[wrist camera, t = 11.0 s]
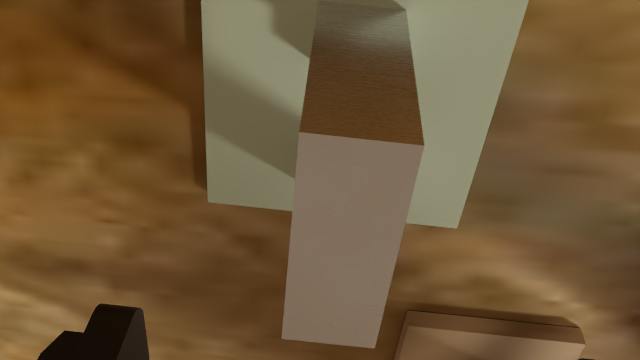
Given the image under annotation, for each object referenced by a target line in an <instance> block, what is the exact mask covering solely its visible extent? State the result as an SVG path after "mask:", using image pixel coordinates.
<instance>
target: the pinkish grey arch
mask: <svg viewBox="0 0 640 360" xmlns="http://www.w3.org/2000/svg"><path fill="white" fill-rule="evenodd" d="M423 150H424V139H423V131H422V124H421V116H420V109H419V101H418V94H417V86H416V79H415V71H414V64H413V57H412V49H411V42H410V34H409V27H408V19H407V12H406V10H401V9H392V8H383V7H374V6H365V5H356V4H347V3H338V2H329V1H320V0H319V2H318V8H317V15H316V22H315V29H314V35H313V42H312V49H311V56H310V62H309V69H308V76H307V83H306V89H305V96H304V103H303V110H302V116H301V123H300V130H299V140H298V151H297V163H296V175H295V187H294V198H293V210H292V222H291V233H290V245H289V257H288V268H287V280H286V292H285V303H284V315H283V327H282V338H281V339H287V340H297V341H306V342H316V343H326V344H335V345H345V346H354V347H364V348H374V349H375V346H376V342H377V337H378V333H379V329H380V325H381V321H382V317H383V313H384V309H385V305H386V301H387V297H388V293H389V288H390V284H391V280H392V276H393V272H394V268H395V264H396V260H397V256H398V252H399V248H400V244H401V239H402V235H403V231H404V227H405V223H406V219H407V215H408V211H409V207H410V203H411V199H412V195H413V190H414V186H415V182H416V178H417V174H418V170H419V166H420V162H421V158H422V154H423Z"/></svg>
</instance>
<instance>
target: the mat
mask: <svg viewBox="0 0 640 360" xmlns="http://www.w3.org/2000/svg"><path fill="white" fill-rule="evenodd" d="M320 1H329V2H338V3H347V4H356V5H365V6H374V7H383V8H392V9H401V10H406V12H407V19H408V27H409V34H410V42H411V49H412V57H413V64H414V71H415V79H416V86H417V94H418V101H419V109H420V116H421V124H422V131H423V139H424V150H423V154H422V158H421V162H420V166H419V170H418V174H417V178H416V182H415V186H414V190H413V195H412V199H411V203H410V207H409V211H408V215H407V219H406V223H410V224H420V225H429V226H439V227H448V228H457V227H458V223H459V220H460V217H461V214H462V211H463V208H464V204H465V201H466V198H467V195H468V192H469V189H470V185H471V182H472V179H473V176H474V173H475V170H476V166H477V163H478V160H479V157H480V154H481V151H482V147H483V144H484V141H485V138H486V135H487V131H488V128H489V125H490V122H491V119H492V116H493V112H494V109H495V106H496V103H497V100H498V97H499V93H500V90H501V87H502V84H503V81H504V78H505V74H506V71H507V68H508V65H509V62H510V59H511V55H512V52H513V49H514V46H515V43H516V40H517V36H518V33H519V30H520V27H521V24H522V20H523V17H524V14H525V11H526V8H527V5H528V1H529V0H320ZM318 2H319V0H201V15H202V44H203V74H204V104H205V134H206V163H207V193H208V202H210V203H219V204H229V205H238V206H248V207H257V208H267V209H277V210H286V211H292V210H293V198H294V187H295V175H296V163H297V151H298V140H299V130H300V123H301V116H302V110H303V103H304V96H305V89H306V83H307V76H308V69H309V62H310V56H311V49H312V42H313V35H314V29H315V22H316V15H317V8H318Z"/></svg>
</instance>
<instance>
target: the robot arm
mask: <svg viewBox="0 0 640 360" xmlns="http://www.w3.org/2000/svg"><path fill="white" fill-rule="evenodd" d="M38 360H149V351H148V344H147V336H146V329H145V322H144V314H143V310H142V309H141V308H136V307H127V306H118V305H109V304H99V305H98V306H97V307H96V308H95V310H94V312H93V314H92V316H91V318H90V320H89V322H88V325H87V327H86V329H85V331H84V333H82V332H72V331H64V332H63V333H61V334H60V335H59V336H58V337H57V338H56V339H55V340H54V341H53V342H52V343H51V344H50V345H49V346H48V347H47V348H46V349H45V350H44V351H43V352H42V353H41V354H40V356H39V358H38ZM579 360H593V359H584V358H581V359H579Z"/></svg>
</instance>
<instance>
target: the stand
mask: <svg viewBox="0 0 640 360" xmlns="http://www.w3.org/2000/svg"><path fill="white" fill-rule="evenodd" d="M585 345H586V343H585V340H584V337H583V334H582V331H581V328H574V327H564V326H554V325H544V324H535V323H525V322H515V321H506V320H496V319H486V318H477V317H467V316H457V315H447V314H438V313H428V312H418V311H409V310H407V313H406V317H405V320H404V324H403V328H402V331H401V335H400V338H399V342H398V346H397V349H396V353H395V356H394V360H577V359H578V357H579V355H580V354H581V352H582V350H583V349H584V347H585Z"/></svg>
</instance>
